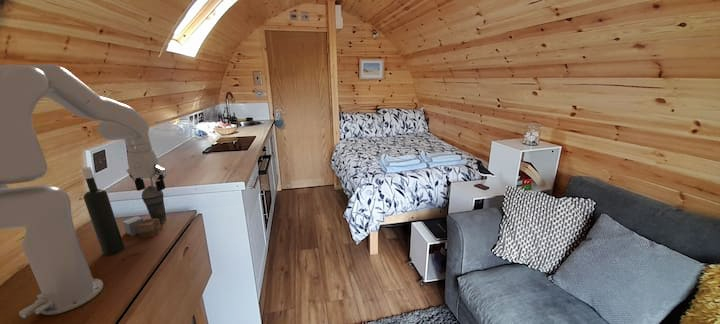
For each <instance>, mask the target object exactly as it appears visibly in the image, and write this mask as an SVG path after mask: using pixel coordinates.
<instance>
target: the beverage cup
mask: <svg viewBox="0 0 720 324" xmlns="http://www.w3.org/2000/svg"><path fill="white" fill-rule="evenodd" d="M149 180H150V186H147V187H145V188H144V189H142V190H143V191H142V193H141V199H142V202H143V203H144V204H145V207H146V209H147V212H148V214H149V216H150V219H156V218H159V221H160V223H161V224H163V223H162V222H164V221H165V222H166V221H167V216H166V215H167V214H166V208H165V202H164V192H163V190H161V191H158V190H157V187H156V185H154V184H153V177H151V178H149ZM165 222H164V223H165Z"/></svg>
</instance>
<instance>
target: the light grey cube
mask: <svg viewBox="0 0 720 324" xmlns="http://www.w3.org/2000/svg"><path fill="white" fill-rule="evenodd" d="M144 220H145V219H144V217H141V216H133V217H131V218H128V219H126V220H122V224H123V227H124V231H125V233H126V234H127V235H129V236H135V235H137V233H138V234H139V232H138V228H137V225H138V224H140V223H141V222H142V221H144Z"/></svg>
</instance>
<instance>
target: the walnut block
mask: <svg viewBox="0 0 720 324" xmlns="http://www.w3.org/2000/svg"><path fill="white" fill-rule="evenodd" d="M161 224H162V223H161ZM161 224H160V221H159V218H156V219H151V218H147V219H144V221H142V222H141V223H140V224H138V225H137V228H138V232H139V233H138V235H139V237H140V238H150V237H149V236H153V237H155V236H156V235H158V234H159V233H160V232H161V231H162V230H163V229H162V225H161ZM160 230H161V231H160ZM159 231H160V232H159ZM158 232H159V233H158ZM157 233H158V234H157Z"/></svg>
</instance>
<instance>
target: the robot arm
mask: <svg viewBox="0 0 720 324" xmlns="http://www.w3.org/2000/svg"><path fill="white" fill-rule="evenodd" d="M43 98H47V99H50V100H51V101H53V102H54V103H57V104H58V105H59V106H61V107H62V108H63V109H66V110H67V111H69V112H70V114H71V113H72V114H73V115H75V116H77V117H79V118H82V119H87V120H88V119H89V120H93V121H100V122H99V123H98V125H97V128H96V129H97V134H98V135H99V136H100V137H101V138H102V139H104V140H108V141H117V140H118V141H120V140H124V143H125V146H126V150H127V153H126V157H127V158H126V159H127V165H128V168H127V169H126V172H127V173H128V176H129V177H130V178H131V179H132V182H134V185H135V189H136V191H137V192H139V191H142V190H144V189H145V188H146V186H145V182H144V179H150V178H151V177H152V179H154V180H155V186H156V187H157V190H158V191H161V190H162V191H163V190H165V189H166V184H165V181H164V180H165V177H166V172H167V169H166V168H164V167H162V166H160V162H159V161H158V157H157V156H156V153H155V151H154V150H153V148H152V144H151V140H150V136H149V130H150V128H149V127H150V126H149V123H148V122H147V120H146V118H144V117H143V116H142V115H141V114H140V113H139V112H138V111H137V110H135V109H134V108H133V107H131V106H129V105H127V104H125V103H121V102H118V101H117V100H114V99H112V98H108V97H104V96H101V95H99V94H98V93H97V92H95V91H94V90H93V89H91V88H90V87H89V86H88V85H86V84H85V83H84V82H83V81H82V80H80V79H79V78H78V77H76V76H75V75H74V74H73V73H72V72H70V71H69V70H68V69H66V68H65V67H63V66H60V65H57V64H49V63H47V64H46V63H43V64H41V63H40V64H3V65H2V64H0V230H5V229H14V228H15V229H16V228H25V232H24V236H23V239H22V243H21V244H22V251H23V253H24V255H25V257H26V259H27V261H28V262H27V263H28V264H29V267H30V268H31V271H32V273H33V275H34V277H35V280H36V283H37V285H38V287H39V289H40V291H41V293H39V294H37V295H36V297H37V299H36V300H35V301H33V302H34V303H31V304H30V305H28V306H27V307H25V308H23V309H22V310H20V311H19V312H18V315H19V316H20V317H21V318H23V319H25V318H27V317H29V316H30V315H32V314H34V313H35V314H36V315H39V314H41V315H44V316H46V315H47V316H53V315H58V314H62V313H66V312H68V311H71V310H73V309H76V308H78V307H80V306H82V305H84V304H87V302H89V301H91V300H92V299H94V298H95V297H96V296H97V295H99V293H100V292H101V291H102V290H103V288H104V283H103V280H101V279H99V278H94V277H93V274H92V272H91V270H90V267H89V265H88V262H87V259H86V256H85V253H84V251H83V248H82V245H81V243H80V239H79V238H78V237H79V236H78V234H77V232H76V231H77V230H76V229H75V225H74V221H73V217H72V205H71V204H72V203H71V199H70V196H69V194H68V192H66V191H65V190H64V189H62V188H60V187H58V186H54V185H31V186H20V187H11V188H9V187H8V185H15V184H23V183H28V182H33V181H37V180H40V179H41V178H43V177H44V176H46V174H47V171H48V164H47V160H46V157H45V154H44V152H43V148H42V146H41V144H40V141H39V138H38V135H37V133H36V130H35V128H34V127H35V126H34V125H33V113H34V110H35V109H36V106H37V105H38V103H39V102H40V101H41V100H42V99H43Z"/></svg>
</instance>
